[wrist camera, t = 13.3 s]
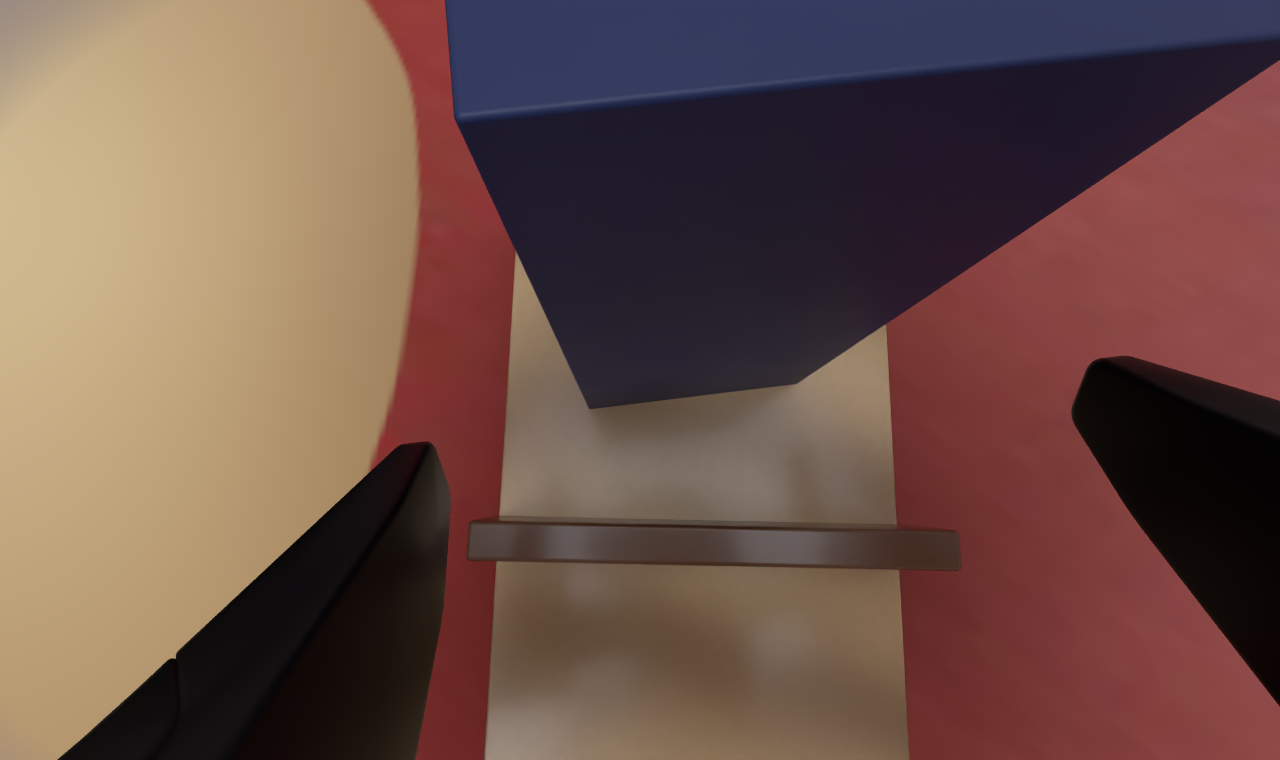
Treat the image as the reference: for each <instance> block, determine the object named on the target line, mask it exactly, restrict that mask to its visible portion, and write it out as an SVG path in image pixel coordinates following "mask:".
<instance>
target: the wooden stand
mask: <svg viewBox="0 0 1280 760" xmlns="http://www.w3.org/2000/svg"><path fill="white" fill-rule="evenodd" d="M467 559H468V560H470V561H496V575H495V591H494V607H493V623H492V639H491V655H490V671H489V687H488V703H487V719H486V735H485V751H484V760H909V745H908V727H907V708H906V689H905V670H904V652H903V633H902V614H901V595H900V577H899V570H931V571H958V570H960V569H961V559H960V545H959V535H958V532H956V531H954V530H944V529H935V528H925V527H916V526H906V525H897V520H896V502H895V483H894V464H893V445H892V427H891V408H890V389H889V370H888V351H887V333H886V324H885V325H884V326H882V327H881V328H879V329H878V330H876V331H875V332H873V333H872V334H870V335H869V336H867V337H866V338H864V339H863V340H861V341H860V342H859V343H857V344H856V345H854V346H853V347H851V348H850V349H848V350H847V351H845V352H844V353H842V354H841V355H839V356H838V357H836V358H835V359H833V360H832V361H830V362H829V363H827V364H826V365H824V366H823V367H821V368H820V369H818V370H817V371H815V372H814V373H812V374H811V375H809V376H808V377H806V378H805V379H803V380H802V381H800V382H799V383H797V384H792V385H784V386H776V387H768V388H759V389H751V390H743V391H735V392H727V393H719V394H710V395H702V396H694V397H686V398H678V399H670V400H661V401H653V402H645V403H637V404H629V405H620V406H612V407H604V408H596V409H589V408H588V406H587V404H586V402H585V400H584V397H583V395H582V393H581V391H580V389H579V387H578V384H577V382H576V380H575V378H574V376H573V374H572V371H571V369H570V367H569V365H568V363H567V361H566V358H565V356H564V354H563V352H562V350H561V348H560V345H559V343H558V341H557V339H556V337H555V335H554V332H553V330H552V328H551V326H550V324H549V322H548V319H547V317H546V315H545V313H544V311H543V309H542V306H541V304H540V302H539V300H538V298H537V296H536V293H535V291H534V289H533V287H532V285H531V283H530V280H529V278H528V276H527V274H526V272H525V270H524V267H523V265H522V263H521V261H520V259H519V257H518V255H517V252H516V255H515V271H514V287H513V303H512V319H511V335H510V351H509V367H508V383H507V399H506V415H505V431H504V447H503V463H502V479H501V495H500V511H499V516H497V517H490V518H484V519H477V520H472V521H470V523H469V528H468V542H467Z"/></svg>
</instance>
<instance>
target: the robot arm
mask: <svg viewBox="0 0 1280 760" xmlns="http://www.w3.org/2000/svg"><path fill="white" fill-rule="evenodd" d="M1071 414H1072V419H1073V422H1074V425H1075V426H1076V428H1077V430H1078V431H1079V433H1080V434H1081V436H1082V438H1083V439H1084V441H1085V442H1086V444H1087V446H1088V447H1089V449H1090V450H1091V452H1092V453H1093V455H1094V457H1095V458H1096V460H1097V461H1098V463H1099V465H1100V466H1101V468H1102V469H1103V471H1104V473H1105V474H1106V476H1107V477H1108V479H1109V481H1110V482H1111V484H1112V485H1113V487H1114V488H1115V490H1116V492H1117V493H1118V495H1119V496H1120V498H1121V500H1122V501H1123V503H1124V504H1125V506H1126V507H1127V509H1128V510H1129V512H1130V513H1131V515H1132V516H1133V517H1134V519H1135V520H1136V522H1137V523H1138V524H1139V526H1140V527H1141V528H1142V530H1143V531H1144V532H1145V534H1146V535H1147V536H1148V537H1149V539H1150V540H1151V541H1152V543H1153V544H1154V545H1155V546H1156V548H1157V549H1158V550H1159V552H1160V553H1161V554H1162V555H1163V557H1164V558H1165V559H1166V561H1167V562H1168V563H1169V564H1170V566H1171V567H1172V568H1173V570H1174V571H1175V572H1176V574H1177V575H1178V576H1179V577H1180V579H1181V580H1182V581H1183V583H1184V584H1185V585H1186V586H1187V588H1188V589H1189V590H1190V592H1191V593H1192V594H1193V595H1194V597H1195V598H1196V599H1197V601H1198V602H1199V603H1200V604H1201V606H1202V607H1203V608H1204V610H1205V611H1206V612H1207V613H1208V615H1209V616H1210V617H1211V619H1212V620H1213V621H1214V622H1215V624H1216V625H1217V626H1218V628H1219V629H1220V630H1221V632H1222V633H1223V634H1224V635H1225V637H1226V638H1227V639H1228V641H1229V642H1230V643H1231V644H1232V646H1233V647H1234V648H1235V650H1236V651H1237V652H1238V653H1239V655H1240V656H1241V657H1242V659H1243V660H1244V661H1245V662H1246V664H1247V665H1248V666H1249V668H1250V669H1251V670H1252V671H1253V673H1254V674H1255V675H1256V677H1257V678H1258V679H1259V680H1260V682H1261V683H1262V684H1263V686H1264V687H1265V688H1266V690H1267V691H1268V692H1269V693H1270V695H1271V696H1272V697H1273V699H1274V700H1275V701H1276V702H1277V704H1278V705H1279V706H1280V401H1278V400H1275V399H1272V398H1268V397H1265V396H1262V395H1258V394H1255V393H1252V392H1248V391H1245V390H1242V389H1238V388H1235V387H1231V386H1228V385H1225V384H1221V383H1218V382H1215V381H1211V380H1208V379H1205V378H1201V377H1198V376H1195V375H1191V374H1188V373H1185V372H1181V371H1178V370H1175V369H1171V368H1168V367H1165V366H1161V365H1158V364H1155V363H1151V362H1148V361H1144V360H1141V359H1138V358H1134V357H1131V356H1116V357H1108V358H1100V359H1097V360H1095V361H1093V362H1092V363H1091V364H1090V365H1089V366H1088V368H1087V369H1086V372H1085V374H1084V377H1083V379H1082V382H1081V385H1080V387H1079V390H1078V392H1077V395H1076V397H1075V400H1074V402H1073V405H1072V411H1071ZM450 506H451V499H450V490H449V486H448V483H447V480H446V477H445V474H444V471H443V468H442V465H441V462H440V460H439V457H438V454H437V451H436V449H435V447H434V446H433V444H432V443H430V442H417V443H409V444H403V445H400V446H398V447H397V448H395V449H394V450H393V451H392V452H391V453H390V454H389V455H388V456H387V457H386V458H385V459H383V460H382V461H381V462H380V463H379V464H378V465H377V466H376V467H375V468H374V469H373V470H372V471H371V472H370V473H368V474H367V475H366V476H365V477H364V478H363V479H362V480H361V481H360V482H359V483H358V484H357V485H356V486H355V487H354V488H352V489H351V490H350V491H349V492H348V493H347V494H346V495H345V496H344V497H343V498H342V499H341V500H340V501H339V502H337V503H336V504H335V505H334V506H333V507H332V508H331V509H330V510H329V511H328V512H327V513H326V514H325V515H323V516H322V517H321V518H320V519H319V520H318V521H317V522H316V523H315V524H314V525H313V526H312V527H311V528H310V529H308V530H307V531H306V532H305V533H304V534H303V535H302V536H301V537H300V538H299V539H298V540H297V541H296V542H295V543H293V544H292V545H291V546H290V547H289V548H288V549H287V550H286V551H285V552H284V553H283V554H282V555H281V556H279V557H278V558H277V559H276V560H275V561H274V562H273V563H272V564H271V565H270V566H269V567H268V568H267V569H266V570H265V571H263V572H262V573H261V574H260V575H259V576H258V577H257V578H256V579H255V580H254V581H253V582H252V583H250V585H248V586H247V587H246V588H245V589H244V590H243V591H242V592H241V593H240V594H239V595H238V596H237V597H235V599H233V600H232V601H231V602H230V603H229V604H228V605H227V606H226V607H225V608H224V609H223V610H222V611H221V612H219V613H218V614H217V615H216V616H215V617H214V618H213V619H212V620H211V621H210V622H209V623H208V624H207V625H205V627H204V628H202V629H201V630H200V631H199V632H198V633H197V634H196V635H195V636H194V637H193V638H191V639H190V641H188V642H187V643H186V644H185V645H184V646H183V647H182V648H181V649H180V650H179V651H178V652H177V653H176V659H173V658H172V659H169V660H168V661H167V662H165V663H164V664H163V665H162V666H161V667H160V668H159V669H158V670H157V671H156V672H155V673H154V674H153V675H151V676H150V677H149V678H148V679H147V680H146V681H145V682H144V683H143V684H142V685H141V686H140V687H139V688H138V689H136V690H135V691H134V692H133V693H132V694H131V695H130V696H129V697H128V698H127V699H125V700H124V701H123V702H122V703H121V704H120V705H119V706H118V707H117V708H115V709H114V710H113V711H112V712H111V713H110V714H109V715H108V716H107V717H106V718H104V719H103V720H102V721H101V722H100V723H99V724H98V725H97V726H95V727H94V728H93V729H92V730H91V731H90V732H89V733H88V734H87V735H86V736H84V737H83V738H82V739H81V740H80V741H79V742H78V743H76V744H75V745H74V746H73V747H72V748H71V749H69V750H68V751H67V752H66V753H65V754H63V755H62V756H61V757H60V758H59V759H58V760H415V759H416V753H417V748H418V743H419V737H420V732H421V727H422V721H423V716H424V711H425V705H426V700H427V695H428V689H429V684H430V679H431V673H432V668H433V663H434V658H435V652H436V647H437V642H438V636H439V631H440V626H441V619H442V613H443V606H444V595H445V582H446V567H447V551H448V536H449V521H450Z"/></svg>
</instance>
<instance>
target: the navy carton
mask: <svg viewBox="0 0 1280 760" xmlns="http://www.w3.org/2000/svg"><path fill="white" fill-rule="evenodd" d="M445 6H446V18H447V31H448V44H449V56H450V69H451V82H452V94H453V107H454V118H455V120H456V122H457V125H458V127H459V129H460V131H461V133H462V135H463V138H464V140H465V142H466V144H467V146H468V148H469V151H470V153H471V155H472V157H473V159H474V161H475V164H476V166H477V168H478V170H479V172H480V174H481V177H482V179H483V181H484V183H485V185H486V187H487V190H488V192H489V194H490V196H491V198H492V200H493V203H494V205H495V207H496V209H497V211H498V213H499V216H500V218H501V220H502V222H503V224H504V226H505V229H506V231H507V233H508V235H509V237H510V239H511V242H512V244H513V246H514V248H515V250H516V252H517V255H518V257H519V259H520V261H521V263H522V265H523V267H524V270H525V272H526V274H527V276H528V278H529V280H530V283H531V285H532V287H533V289H534V291H535V293H536V296H537V298H538V300H539V302H540V304H541V306H542V309H543V311H544V313H545V315H546V317H547V319H548V322H549V324H550V326H551V328H552V330H553V332H554V335H555V337H556V339H557V341H558V343H559V345H560V348H561V350H562V352H563V354H564V356H565V358H566V361H567V363H568V365H569V367H570V369H571V371H572V374H573V376H574V378H575V380H576V382H577V384H578V387H579V389H580V391H581V393H582V395H583V397H584V400H585V402H586V404H587V406H588V408H589V409H596V408H604V407H612V406H620V405H629V404H637V403H645V402H653V401H661V400H670V399H678V398H686V397H694V396H702V395H710V394H719V393H727V392H735V391H743V390H751V389H759V388H768V387H776V386H784V385H792V384H797V383H799V382H800V381H802V380H803V379H805V378H806V377H808V376H809V375H811V374H812V373H814V372H815V371H817V370H818V369H820V368H821V367H823V366H824V365H826V364H827V363H829V362H830V361H832V360H833V359H835V358H836V357H838V356H839V355H841V354H842V353H844V352H845V351H847V350H848V349H850V348H851V347H853V346H854V345H856V344H857V343H859V342H860V341H861V340H863V339H864V338H866V337H867V336H869V335H870V334H872V333H873V332H875V331H876V330H878V329H879V328H881V327H882V326H884V325H885V324H887V323H888V322H890V321H891V320H893V319H894V318H896V317H897V316H899V315H900V314H902V313H903V312H905V311H906V310H908V309H909V308H911V307H912V306H914V305H915V304H917V303H918V302H920V301H921V300H923V299H924V298H926V297H927V296H929V295H930V294H932V293H933V292H935V291H936V290H938V289H939V288H940V287H942V286H943V285H945V284H946V283H948V282H949V281H951V280H952V279H954V278H955V277H957V276H958V275H960V274H961V273H963V272H964V271H966V270H967V269H969V268H970V267H972V266H973V265H975V264H976V263H978V262H979V261H981V260H982V259H984V258H985V257H987V256H988V255H990V254H991V253H993V252H994V251H996V250H997V249H999V248H1000V247H1002V246H1003V245H1005V244H1006V243H1008V242H1009V241H1011V240H1012V239H1014V238H1015V237H1017V236H1018V235H1019V234H1021V233H1022V232H1024V231H1025V230H1027V229H1028V228H1030V227H1031V226H1033V225H1034V224H1036V223H1037V222H1039V221H1040V220H1042V219H1043V218H1045V217H1046V216H1048V215H1049V214H1051V213H1052V212H1054V211H1055V210H1057V209H1058V208H1060V207H1061V206H1063V205H1064V204H1066V203H1067V202H1069V201H1070V200H1072V199H1073V198H1075V197H1076V196H1078V195H1079V194H1081V193H1082V192H1084V191H1085V190H1087V189H1088V188H1090V187H1091V186H1093V185H1094V184H1096V183H1097V182H1099V181H1100V180H1101V179H1103V178H1104V177H1106V176H1107V175H1109V174H1110V173H1112V172H1113V171H1115V170H1116V169H1118V168H1119V167H1121V166H1122V165H1124V164H1125V163H1127V162H1128V161H1130V160H1131V159H1133V158H1134V157H1136V156H1137V155H1139V154H1140V153H1142V152H1143V151H1145V150H1146V149H1148V148H1149V147H1151V146H1152V145H1154V144H1155V143H1157V142H1158V141H1160V140H1161V139H1163V138H1164V137H1166V136H1167V135H1169V134H1170V133H1172V132H1173V131H1175V130H1176V129H1178V128H1179V127H1180V126H1182V125H1183V124H1185V123H1186V122H1188V121H1189V120H1191V119H1192V118H1194V117H1195V116H1197V115H1198V114H1200V113H1201V112H1203V111H1204V110H1206V109H1207V108H1209V107H1210V106H1212V105H1213V104H1215V103H1216V102H1218V101H1219V100H1221V99H1222V98H1224V97H1225V96H1227V95H1228V94H1230V93H1231V92H1233V91H1234V90H1236V89H1237V88H1239V87H1240V86H1242V85H1243V84H1245V83H1246V82H1248V81H1249V80H1251V79H1252V78H1254V77H1255V76H1257V75H1258V74H1259V73H1261V72H1262V71H1264V70H1265V69H1267V68H1268V67H1270V66H1271V65H1273V64H1274V63H1276V62H1277V61H1279V60H1280V0H445Z"/></svg>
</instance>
